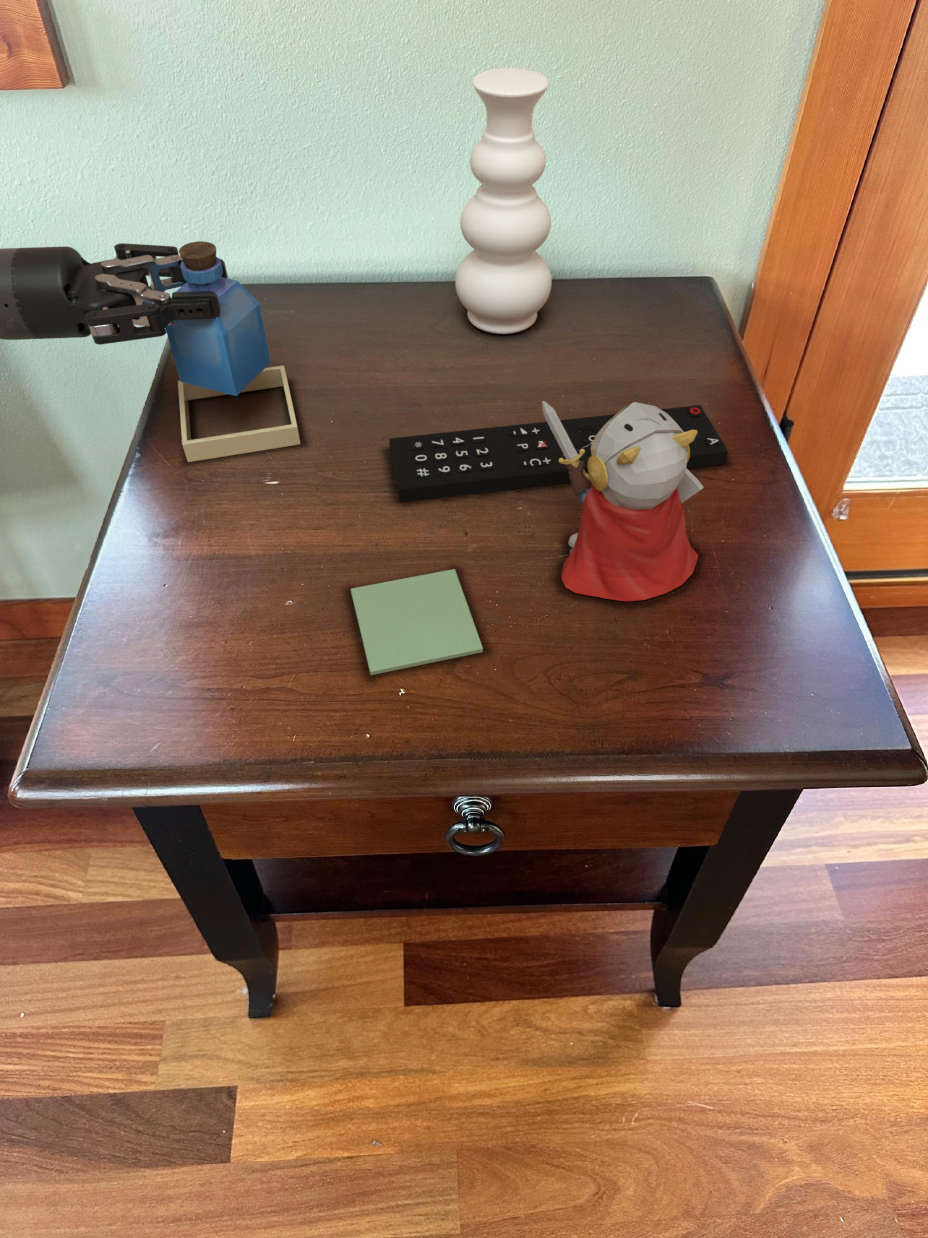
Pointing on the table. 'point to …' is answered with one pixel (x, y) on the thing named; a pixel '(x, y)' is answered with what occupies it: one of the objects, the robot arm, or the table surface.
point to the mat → (414, 621)
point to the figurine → (630, 506)
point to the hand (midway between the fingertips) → (221, 287)
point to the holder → (241, 440)
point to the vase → (506, 208)
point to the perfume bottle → (218, 328)
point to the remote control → (518, 455)
